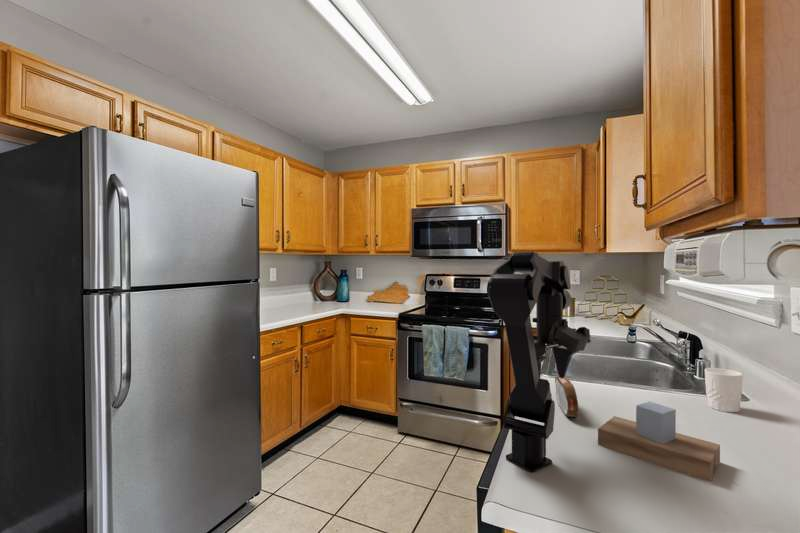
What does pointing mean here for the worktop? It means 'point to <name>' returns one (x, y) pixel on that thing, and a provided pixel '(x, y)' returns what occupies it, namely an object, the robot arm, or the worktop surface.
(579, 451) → the worktop surface
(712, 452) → the walnut block
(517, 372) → the robot arm
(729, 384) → the white cup
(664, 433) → the gray block
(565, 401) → the tin
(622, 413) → the worktop surface
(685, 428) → the worktop surface
